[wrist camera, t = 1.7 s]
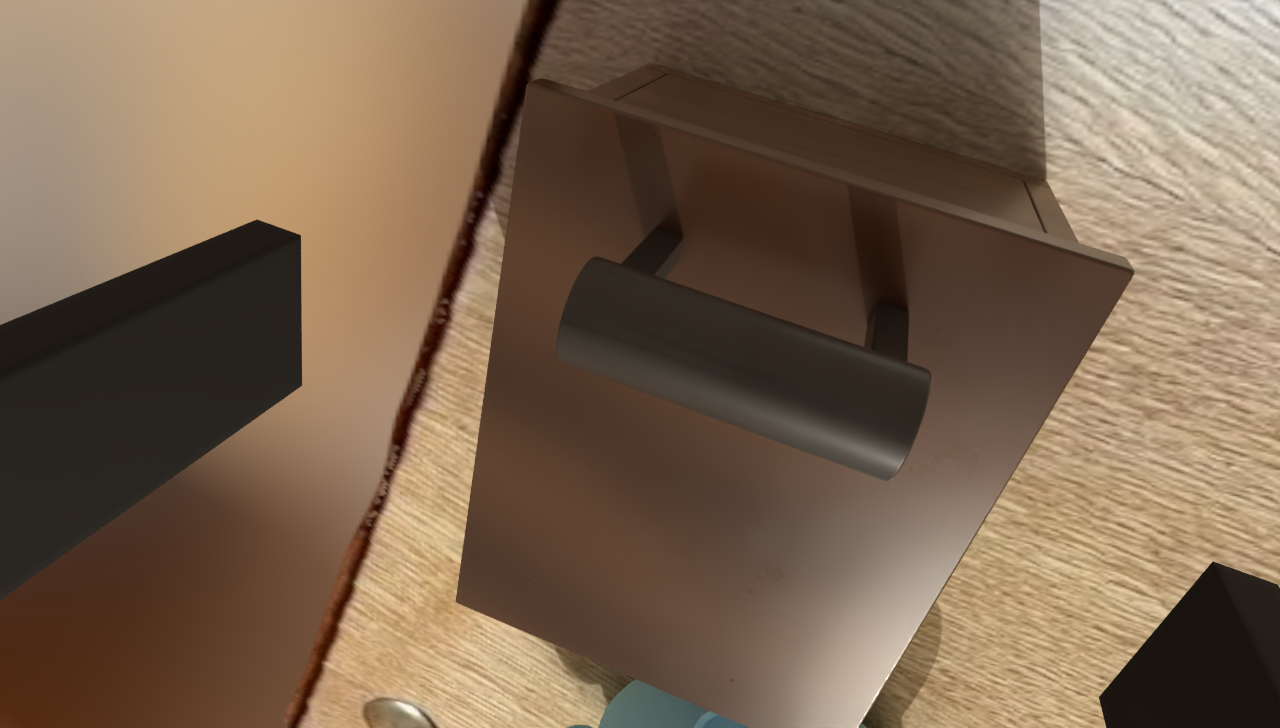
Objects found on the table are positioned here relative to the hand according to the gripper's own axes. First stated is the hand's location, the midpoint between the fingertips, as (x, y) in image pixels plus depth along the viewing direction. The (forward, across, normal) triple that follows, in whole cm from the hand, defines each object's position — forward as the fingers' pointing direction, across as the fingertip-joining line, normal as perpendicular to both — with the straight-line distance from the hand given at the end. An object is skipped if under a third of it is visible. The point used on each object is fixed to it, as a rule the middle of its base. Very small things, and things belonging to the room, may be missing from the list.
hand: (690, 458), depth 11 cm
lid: (+8, 0, -6) cm, 9 cm away
